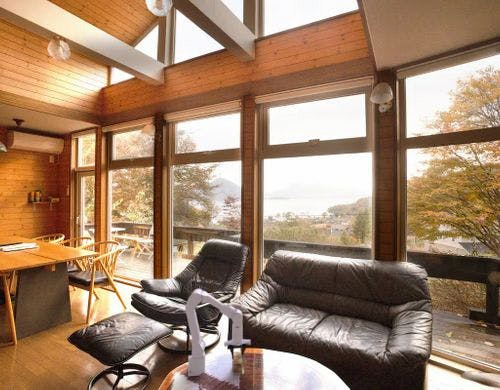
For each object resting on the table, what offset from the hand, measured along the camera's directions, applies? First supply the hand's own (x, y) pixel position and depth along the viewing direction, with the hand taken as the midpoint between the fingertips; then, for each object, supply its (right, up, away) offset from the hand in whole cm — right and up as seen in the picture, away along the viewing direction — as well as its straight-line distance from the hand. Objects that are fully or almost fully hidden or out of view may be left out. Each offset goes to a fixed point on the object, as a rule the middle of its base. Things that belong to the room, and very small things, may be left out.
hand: (237, 358), depth 165 cm
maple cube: (0, -2, 0) cm, 2 cm away
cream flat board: (+1, -7, +1) cm, 7 cm away
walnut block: (0, -7, 0) cm, 6 cm away
